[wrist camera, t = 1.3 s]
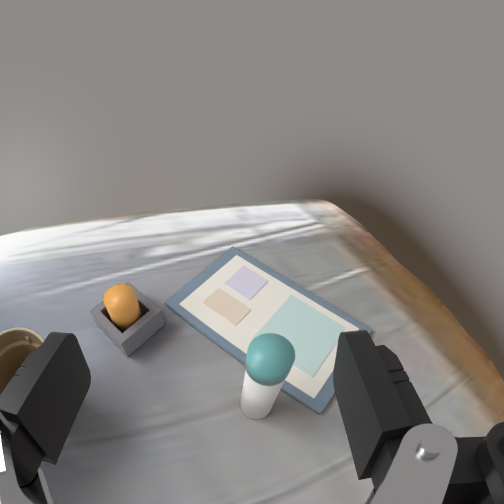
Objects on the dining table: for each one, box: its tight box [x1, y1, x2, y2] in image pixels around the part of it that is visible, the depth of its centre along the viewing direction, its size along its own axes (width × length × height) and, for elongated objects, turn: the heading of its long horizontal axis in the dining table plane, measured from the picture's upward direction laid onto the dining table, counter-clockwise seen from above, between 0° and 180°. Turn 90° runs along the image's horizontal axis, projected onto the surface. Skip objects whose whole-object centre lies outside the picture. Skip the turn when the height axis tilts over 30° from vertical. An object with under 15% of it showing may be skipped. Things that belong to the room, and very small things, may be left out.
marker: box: [240, 333, 295, 419], centre depth 26 cm, size 3×3×12 cm
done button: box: [103, 284, 142, 331], centre depth 33 cm, size 4×4×4 cm
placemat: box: [165, 247, 372, 415], centre depth 38 cm, size 22×13×1 cm, turn 53°
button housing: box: [90, 282, 165, 357], centre depth 34 cm, size 6×6×3 cm
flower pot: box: [0, 327, 44, 395], centre depth 24 cm, size 9×9×9 cm
